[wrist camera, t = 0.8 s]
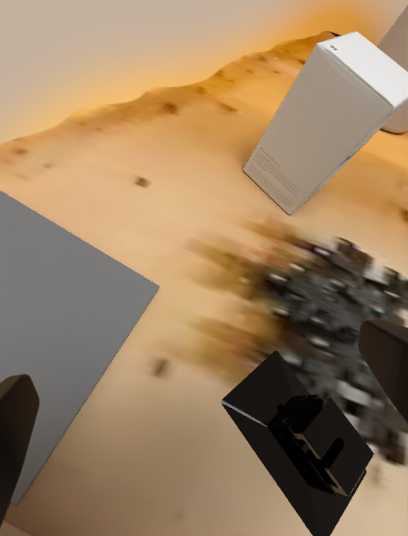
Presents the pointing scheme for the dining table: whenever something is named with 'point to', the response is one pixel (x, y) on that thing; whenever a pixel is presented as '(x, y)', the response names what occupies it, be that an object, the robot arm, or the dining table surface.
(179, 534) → the dining table surface
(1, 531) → the tile
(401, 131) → the cylinder vase
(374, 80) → the supplement box
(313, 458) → the black angular block
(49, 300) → the mat
